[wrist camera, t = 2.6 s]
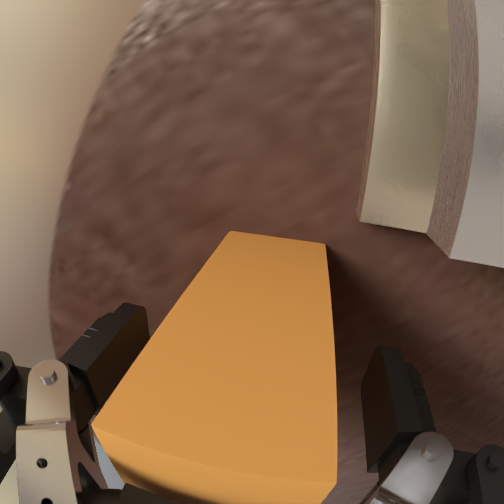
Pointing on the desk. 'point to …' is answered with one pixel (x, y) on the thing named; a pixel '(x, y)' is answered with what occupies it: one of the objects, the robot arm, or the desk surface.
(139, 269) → the desk surface
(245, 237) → the orange rectangular prism
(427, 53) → the two-tier square platform
